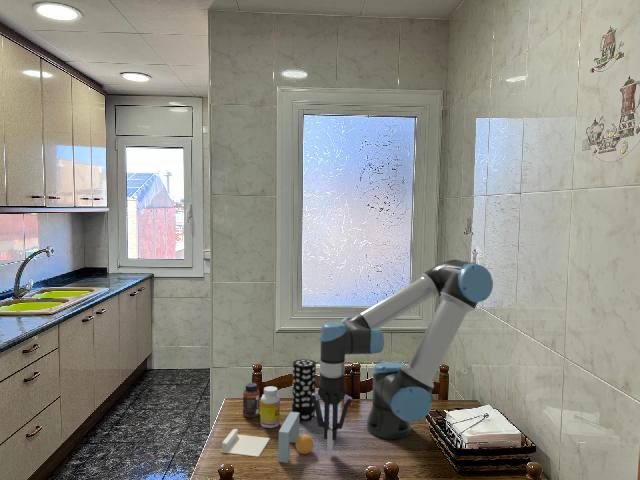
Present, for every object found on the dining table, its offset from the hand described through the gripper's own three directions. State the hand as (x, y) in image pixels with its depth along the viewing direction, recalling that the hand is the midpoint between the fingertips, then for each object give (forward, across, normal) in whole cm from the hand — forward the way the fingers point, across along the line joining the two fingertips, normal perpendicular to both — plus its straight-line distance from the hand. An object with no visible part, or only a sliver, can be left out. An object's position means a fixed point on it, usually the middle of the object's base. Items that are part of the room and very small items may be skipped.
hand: (330, 449), depth 145 cm
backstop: (+2, +32, 0) cm, 33 cm away
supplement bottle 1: (+2, +33, -22) cm, 40 cm away
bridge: (+2, +13, 0) cm, 13 cm away
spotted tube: (+2, +14, -25) cm, 29 cm away
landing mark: (+2, +27, 0) cm, 27 cm away
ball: (-1, +8, 0) cm, 8 cm away
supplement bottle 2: (+2, +24, -16) cm, 29 cm away
